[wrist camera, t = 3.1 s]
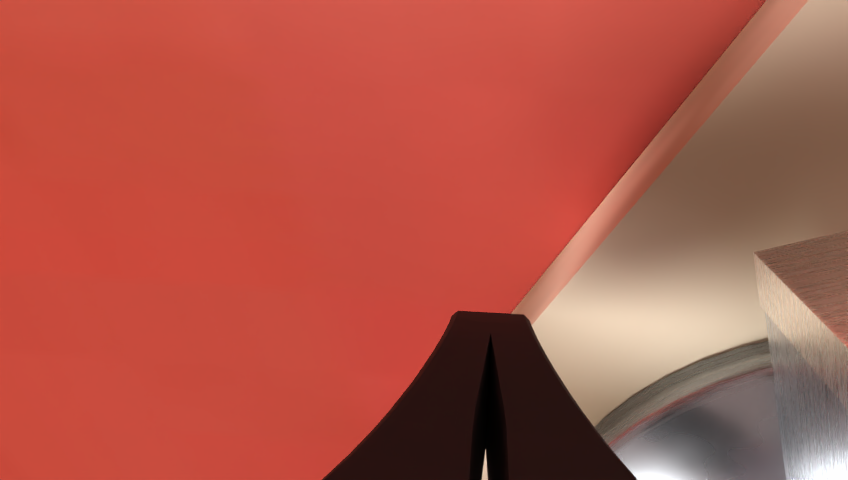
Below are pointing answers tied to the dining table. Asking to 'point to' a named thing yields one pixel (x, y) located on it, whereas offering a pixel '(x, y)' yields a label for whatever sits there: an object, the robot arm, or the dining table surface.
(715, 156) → the stand plate
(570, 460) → the robot arm
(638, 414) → the dial
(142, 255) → the dining table surface
